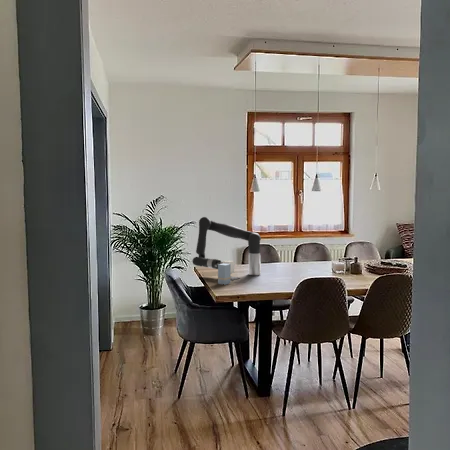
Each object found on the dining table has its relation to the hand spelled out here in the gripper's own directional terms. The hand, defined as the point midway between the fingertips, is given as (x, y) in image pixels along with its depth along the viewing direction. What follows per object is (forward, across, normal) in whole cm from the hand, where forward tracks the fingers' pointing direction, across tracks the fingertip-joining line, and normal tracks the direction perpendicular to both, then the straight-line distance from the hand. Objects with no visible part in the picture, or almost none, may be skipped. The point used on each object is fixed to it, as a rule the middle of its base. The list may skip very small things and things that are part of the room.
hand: (230, 266), depth 352 cm
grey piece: (+7, -16, +10) cm, 20 cm away
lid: (-2, 0, +6) cm, 6 cm away
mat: (-2, 0, +10) cm, 10 cm away
